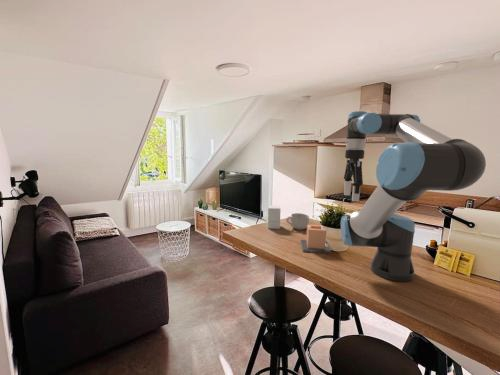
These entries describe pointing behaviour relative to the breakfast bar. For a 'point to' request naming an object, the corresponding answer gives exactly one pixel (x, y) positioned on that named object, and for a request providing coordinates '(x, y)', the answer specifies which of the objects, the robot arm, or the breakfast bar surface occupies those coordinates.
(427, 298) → the breakfast bar surface
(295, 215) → the teacup
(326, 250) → the board
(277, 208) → the supplement box
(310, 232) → the pink square pen holder
